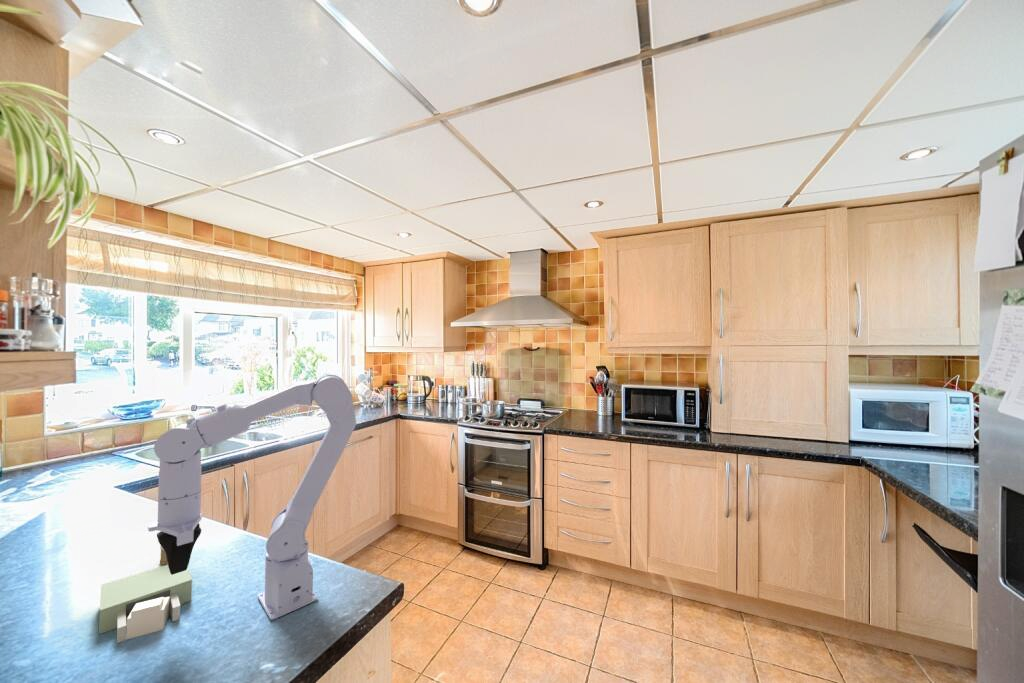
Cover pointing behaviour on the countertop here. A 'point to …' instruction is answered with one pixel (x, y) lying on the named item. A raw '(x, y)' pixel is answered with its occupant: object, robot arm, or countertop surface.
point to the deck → (141, 596)
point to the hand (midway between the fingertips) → (178, 571)
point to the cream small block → (147, 617)
